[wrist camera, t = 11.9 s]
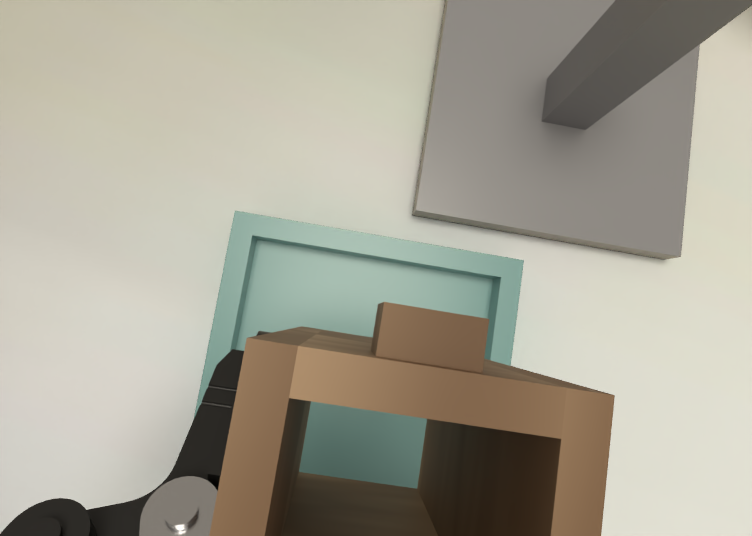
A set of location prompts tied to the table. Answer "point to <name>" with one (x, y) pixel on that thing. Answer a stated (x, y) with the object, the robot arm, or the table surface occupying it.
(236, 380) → the robot arm
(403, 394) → the collar
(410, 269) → the tray
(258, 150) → the table surface
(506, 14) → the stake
